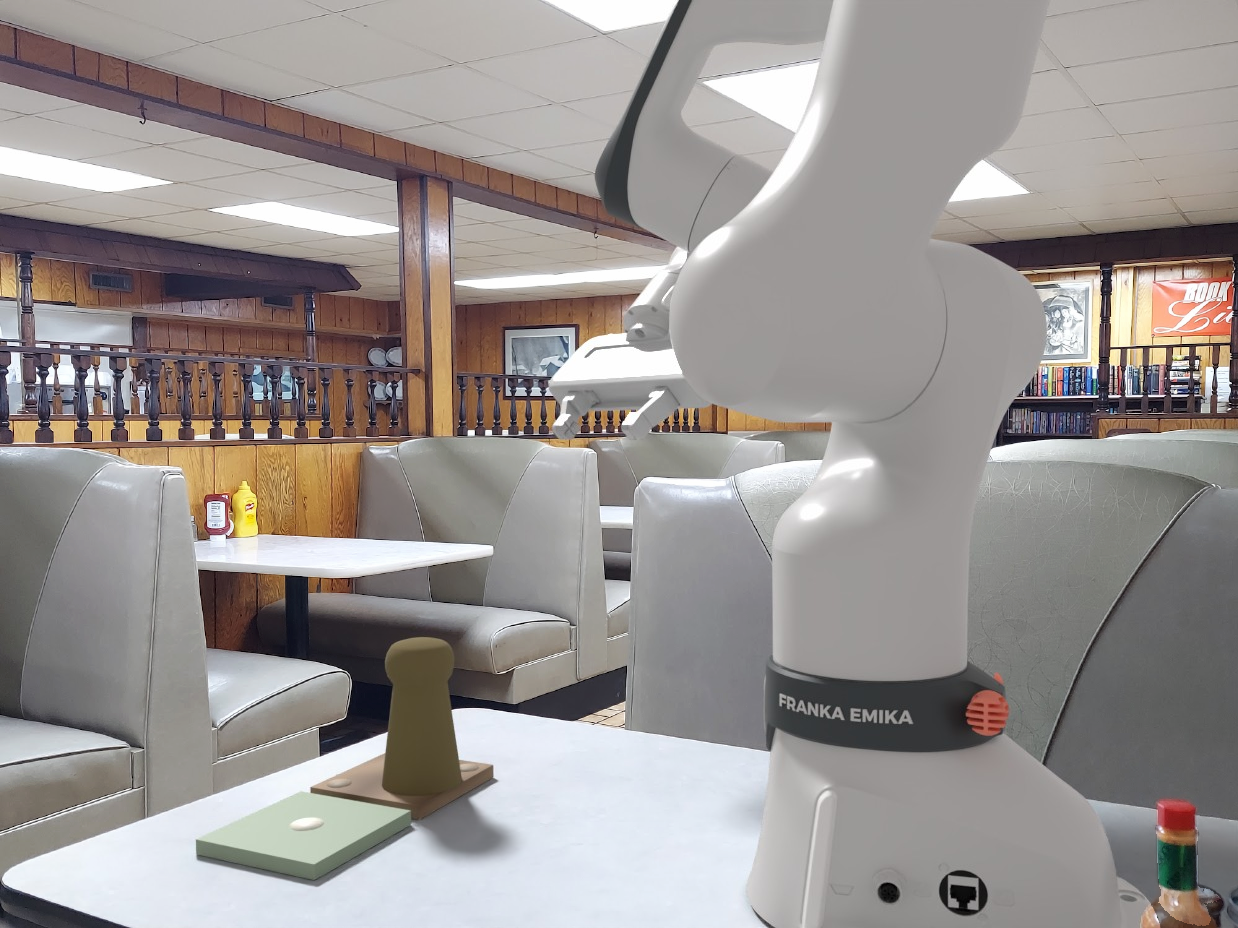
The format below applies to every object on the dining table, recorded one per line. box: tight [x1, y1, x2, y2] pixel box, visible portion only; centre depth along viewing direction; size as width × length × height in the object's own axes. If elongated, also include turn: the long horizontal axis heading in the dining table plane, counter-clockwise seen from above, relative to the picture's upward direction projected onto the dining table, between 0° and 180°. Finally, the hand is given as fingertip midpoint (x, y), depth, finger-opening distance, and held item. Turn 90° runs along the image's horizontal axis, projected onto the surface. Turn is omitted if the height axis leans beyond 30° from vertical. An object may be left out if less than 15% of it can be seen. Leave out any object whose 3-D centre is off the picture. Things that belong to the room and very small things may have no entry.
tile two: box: [309, 752, 495, 821], centre depth 82 cm, size 10×10×1 cm
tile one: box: [195, 790, 412, 881], centre depth 72 cm, size 10×10×1 cm
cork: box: [382, 636, 462, 796], centre depth 80 cm, size 6×6×11 cm
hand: (594, 435), depth 92 cm, fingers open, 8 cm apart
